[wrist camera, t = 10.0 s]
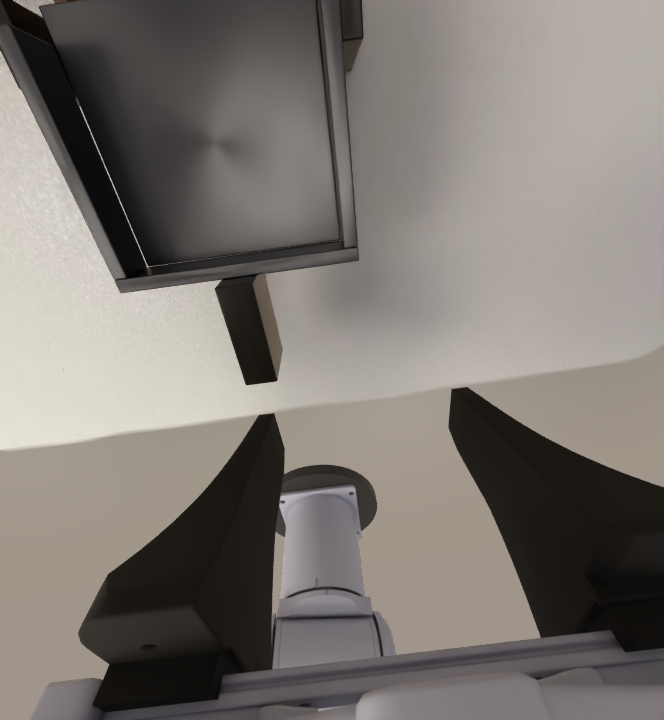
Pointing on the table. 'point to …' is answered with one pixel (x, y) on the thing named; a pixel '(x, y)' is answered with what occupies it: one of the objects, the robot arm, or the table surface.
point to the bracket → (10, 12)
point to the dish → (200, 143)
